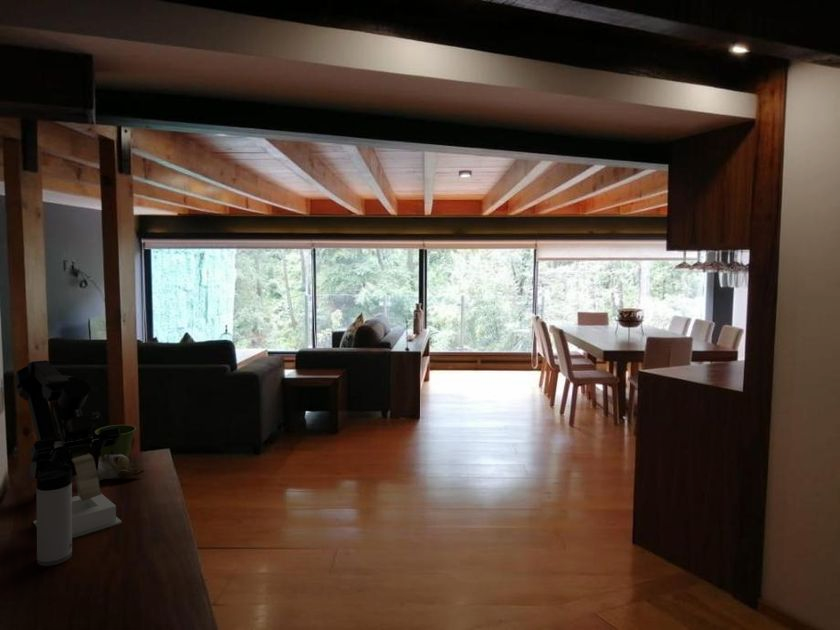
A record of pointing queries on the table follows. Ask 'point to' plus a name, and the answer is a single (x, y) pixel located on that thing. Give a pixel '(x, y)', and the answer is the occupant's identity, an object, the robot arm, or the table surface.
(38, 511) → the travel mug
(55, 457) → the robot arm
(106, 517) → the socket block
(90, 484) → the birch peg
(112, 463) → the ceramic sculpture
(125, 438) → the plant pot
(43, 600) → the table surface
